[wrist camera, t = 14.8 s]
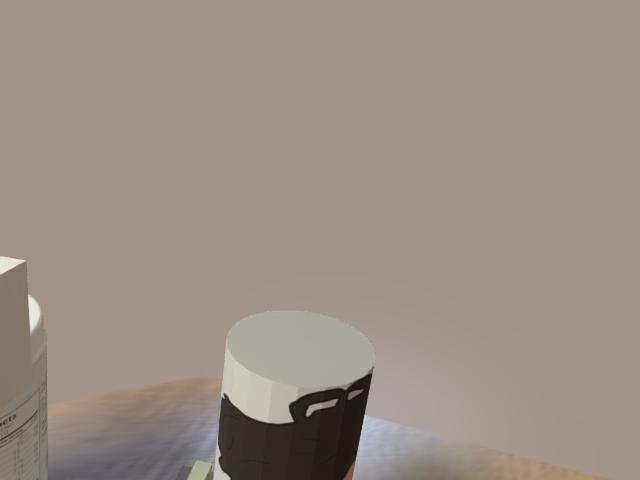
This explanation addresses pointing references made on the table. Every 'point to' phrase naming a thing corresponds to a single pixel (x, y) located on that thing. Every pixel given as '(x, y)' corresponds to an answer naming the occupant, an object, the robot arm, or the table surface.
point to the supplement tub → (28, 414)
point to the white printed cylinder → (292, 398)
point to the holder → (196, 472)
